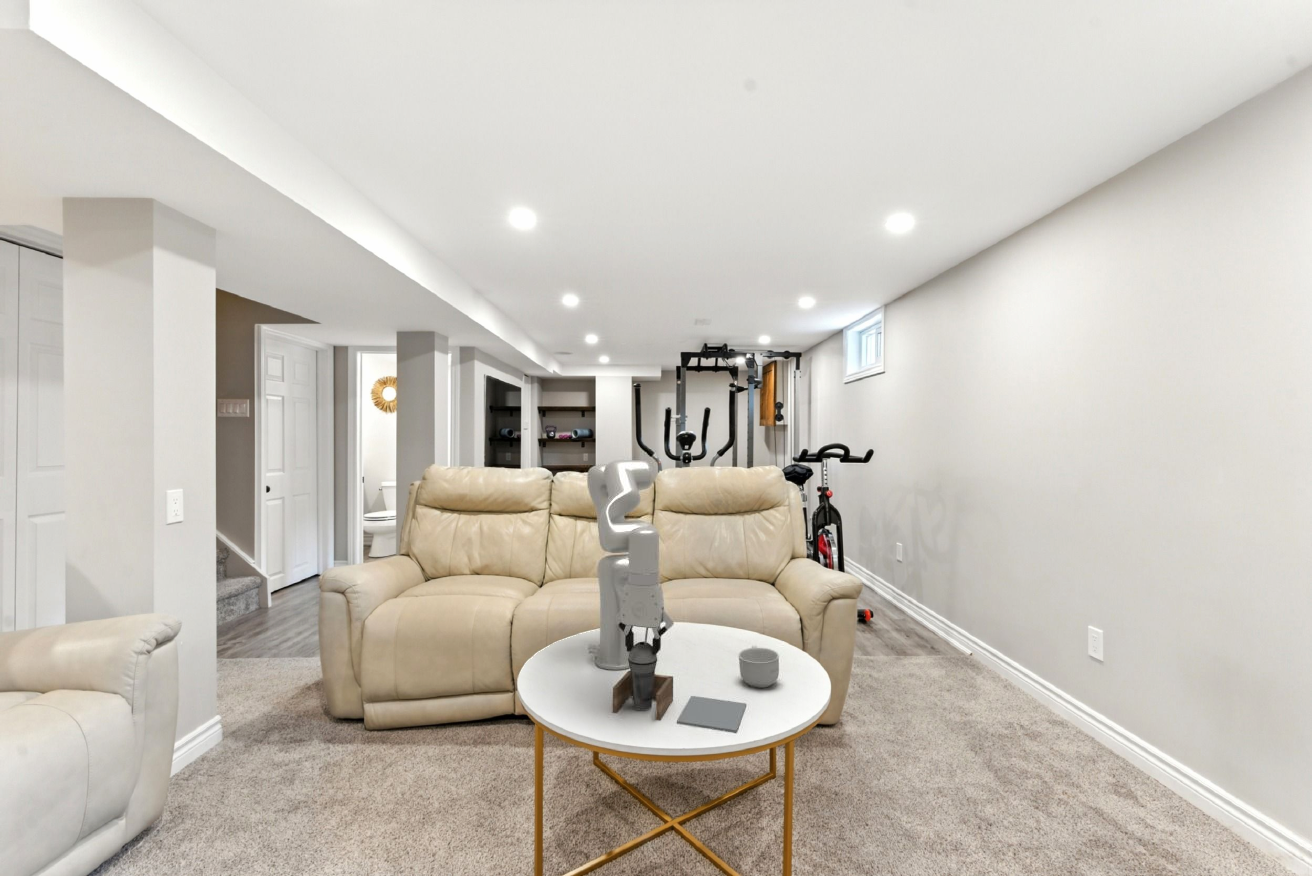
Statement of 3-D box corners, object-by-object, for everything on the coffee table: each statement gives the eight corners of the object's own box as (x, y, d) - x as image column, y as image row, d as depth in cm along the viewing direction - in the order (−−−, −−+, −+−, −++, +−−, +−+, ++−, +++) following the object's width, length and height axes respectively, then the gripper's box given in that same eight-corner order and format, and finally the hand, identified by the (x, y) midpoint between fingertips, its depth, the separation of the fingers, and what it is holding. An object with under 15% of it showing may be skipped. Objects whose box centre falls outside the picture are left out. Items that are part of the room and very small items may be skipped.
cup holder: (612, 712, 137) (612, 687, 137) (628, 693, 147) (628, 670, 147) (660, 720, 133) (660, 694, 133) (673, 700, 143) (673, 676, 144)
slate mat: (676, 723, 132) (676, 720, 132) (691, 697, 145) (691, 695, 145) (736, 732, 128) (736, 730, 128) (746, 705, 141) (746, 703, 141)
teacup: (779, 693, 148) (779, 662, 148) (737, 689, 150) (737, 659, 150) (778, 672, 162) (778, 644, 162) (740, 669, 164) (740, 641, 164)
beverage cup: (627, 699, 143) (627, 620, 143) (655, 698, 144) (656, 619, 144) (628, 713, 136) (628, 630, 136) (658, 712, 137) (658, 629, 137)
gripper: (605, 579, 139) (604, 652, 139) (673, 585, 134) (672, 661, 134) (616, 572, 146) (615, 642, 146) (681, 577, 141) (680, 650, 141)
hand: (642, 650), depth 140 cm, fingers closed on beverage cup, 6 cm apart
